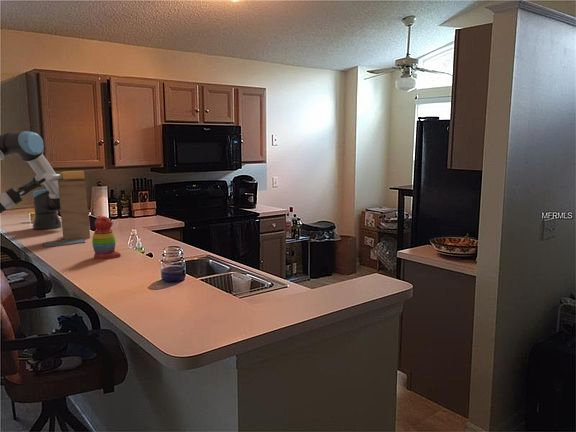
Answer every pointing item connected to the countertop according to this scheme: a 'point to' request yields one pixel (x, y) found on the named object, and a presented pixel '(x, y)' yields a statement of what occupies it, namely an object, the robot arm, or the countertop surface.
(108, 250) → the stacking bear
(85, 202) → the stand
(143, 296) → the countertop surface
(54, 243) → the mat
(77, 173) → the screwdriver
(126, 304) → the countertop surface
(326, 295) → the countertop surface
